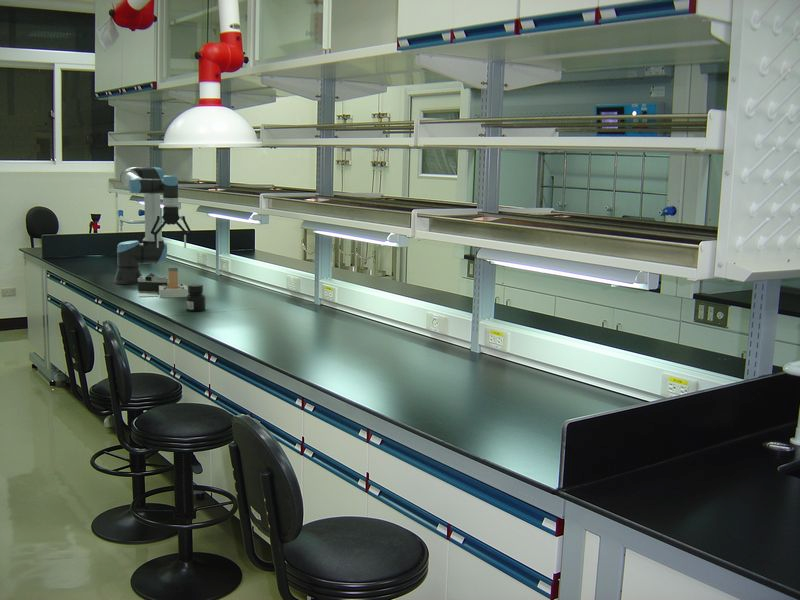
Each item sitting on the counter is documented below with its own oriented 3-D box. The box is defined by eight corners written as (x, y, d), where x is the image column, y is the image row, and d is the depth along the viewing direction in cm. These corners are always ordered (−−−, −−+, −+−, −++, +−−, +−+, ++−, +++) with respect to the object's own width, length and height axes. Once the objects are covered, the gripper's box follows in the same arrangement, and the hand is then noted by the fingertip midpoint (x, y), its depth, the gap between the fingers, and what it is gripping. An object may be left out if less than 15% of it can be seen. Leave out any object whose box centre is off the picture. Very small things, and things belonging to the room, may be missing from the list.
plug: (168, 294, 421) (168, 267, 419) (177, 294, 422) (177, 267, 420) (168, 295, 417) (168, 269, 414) (178, 295, 418) (177, 268, 416)
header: (158, 293, 424) (158, 284, 423) (186, 292, 428) (186, 283, 427) (159, 297, 411) (159, 288, 410) (188, 296, 415) (187, 287, 414)
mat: (139, 294, 418) (138, 293, 418) (157, 293, 421) (157, 293, 421) (139, 297, 410) (139, 296, 410) (157, 296, 413) (157, 296, 413)
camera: (171, 290, 433) (171, 272, 431) (166, 293, 424) (166, 274, 422) (142, 289, 433) (141, 271, 432) (136, 292, 425) (136, 273, 423)
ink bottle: (184, 308, 382) (184, 284, 380) (203, 308, 385) (203, 283, 383) (187, 312, 373) (187, 287, 371) (206, 311, 376) (206, 286, 374)
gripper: (145, 206, 404) (146, 248, 408) (196, 206, 412) (196, 248, 415) (145, 205, 411) (146, 246, 415) (195, 206, 419) (196, 246, 422)
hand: (171, 247), depth 415 cm, fingers open, 13 cm apart
